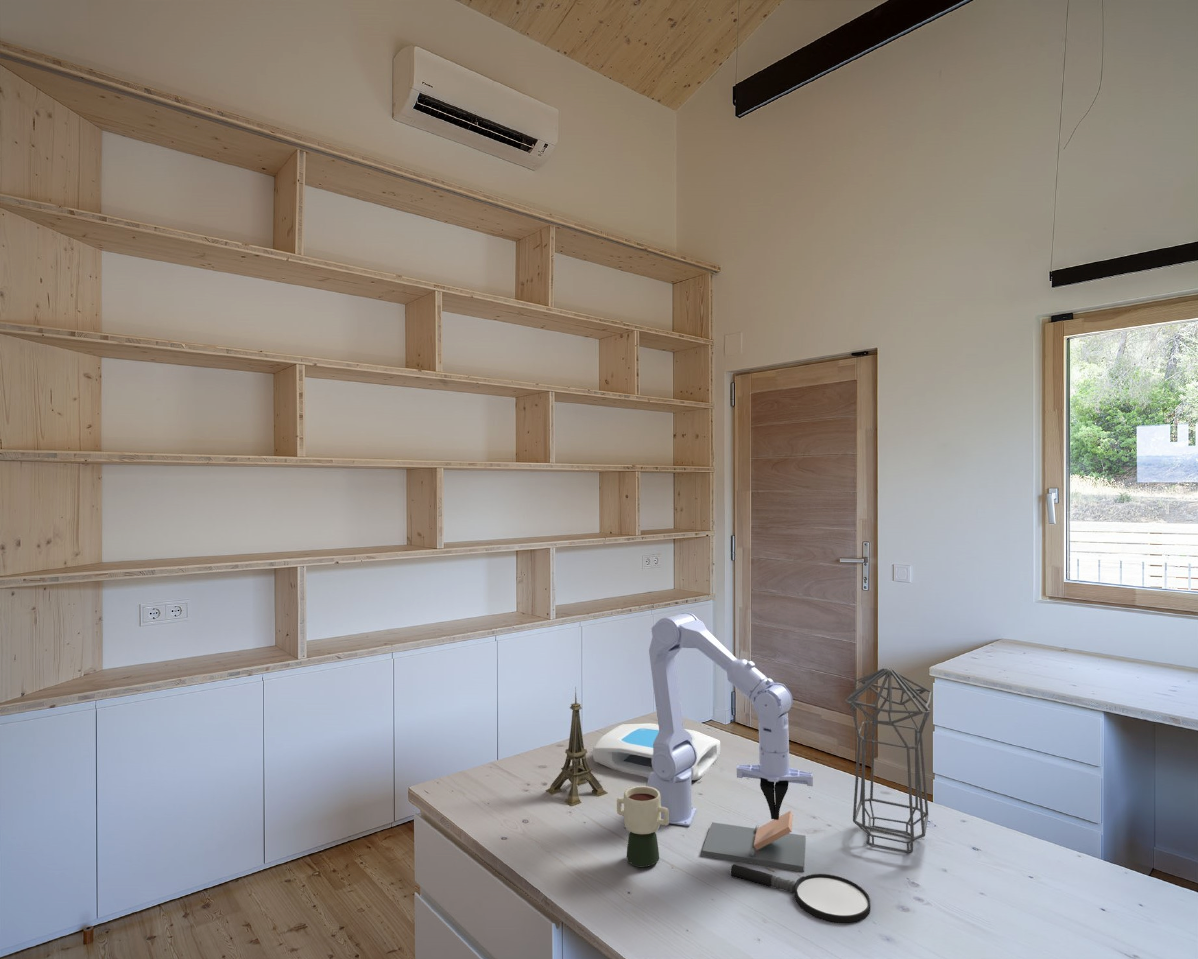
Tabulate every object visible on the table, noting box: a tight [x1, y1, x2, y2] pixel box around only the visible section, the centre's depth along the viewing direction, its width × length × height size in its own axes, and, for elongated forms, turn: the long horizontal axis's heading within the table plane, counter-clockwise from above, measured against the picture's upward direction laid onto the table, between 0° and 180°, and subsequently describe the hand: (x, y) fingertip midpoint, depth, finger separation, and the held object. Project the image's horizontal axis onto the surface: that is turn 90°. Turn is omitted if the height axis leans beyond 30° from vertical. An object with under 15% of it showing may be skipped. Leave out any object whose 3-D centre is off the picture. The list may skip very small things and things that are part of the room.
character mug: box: [616, 785, 670, 868], centre depth 131 cm, size 11×7×13 cm, turn 62°
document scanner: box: [592, 722, 721, 781], centre depth 180 cm, size 21×28×6 cm
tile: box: [754, 810, 794, 850], centre depth 134 cm, size 8×7×1 cm
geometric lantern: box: [844, 667, 933, 854], centre depth 138 cm, size 16×16×35 cm
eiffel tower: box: [545, 686, 609, 807], centre depth 162 cm, size 11×11×25 cm
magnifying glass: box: [730, 864, 872, 925], centre depth 120 cm, size 12×24×2 cm, turn 61°
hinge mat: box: [701, 822, 807, 873], centre depth 135 cm, size 19×12×2 cm, turn 71°
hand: (775, 817), depth 134 cm, fingers closed
